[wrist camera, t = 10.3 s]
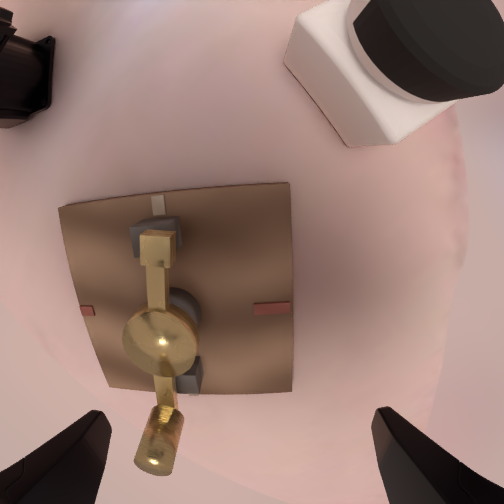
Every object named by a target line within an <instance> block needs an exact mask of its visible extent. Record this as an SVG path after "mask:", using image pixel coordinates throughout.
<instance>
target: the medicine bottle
mask: <svg viewBox="0 0 504 504" xmlns="http://www.w3.org/2000/svg"><path fill="white" fill-rule="evenodd" d="M284 64H285V65H286V66H287V68H288V69H289V70H290V71H291V72H292V74H293V75H294V76H295V77H296V78H297V80H298V81H299V82H300V83H301V85H302V86H303V87H304V88H305V90H306V91H307V92H308V93H309V95H310V96H311V97H312V98H313V100H314V101H315V102H316V104H317V105H318V106H319V108H320V109H321V110H322V112H323V113H324V114H325V116H326V117H327V118H328V120H329V121H330V123H331V124H332V125H333V127H334V128H335V130H336V131H337V132H338V134H339V135H340V137H341V138H342V140H343V141H344V143H345V144H346V145H347V146H348V147H360V146H375V145H393V144H397V143H399V142H400V141H402V140H403V139H404V138H406V137H407V136H409V135H410V134H412V133H413V132H414V131H416V130H417V129H419V128H420V127H421V126H423V125H424V124H426V123H427V122H429V121H430V120H431V119H433V118H434V117H436V116H437V115H438V114H440V113H441V112H443V111H444V110H446V109H447V108H448V107H450V106H451V105H453V104H454V103H456V102H457V101H458V100H460V99H463V98H468V97H474V96H479V95H484V94H490V93H493V92H495V91H497V90H498V89H499V88H500V87H502V85H503V84H504V22H503V19H502V17H501V16H500V13H499V12H498V10H497V9H496V7H495V5H494V4H493V2H492V1H491V0H327V1H325V2H323V3H321V4H318V5H316V6H314V7H312V8H310V9H308V10H306V11H304V12H302V13H300V14H299V15H298V16H297V17H296V20H295V24H294V27H293V30H292V34H291V37H290V40H289V44H288V47H287V50H286V54H285V57H284Z"/></svg>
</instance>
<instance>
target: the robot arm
mask: <svg viewBox="0 0 504 504" xmlns="http://www.w3.org/2000/svg"><path fill="white" fill-rule="evenodd" d="M12 17H13V12H11V11H9V10H7V9H4V8H2V7H0V128H11V127H13V126H15V125H17V124H20V123H22V122H24V121H27V120H28V119H29V118H30V116H31V115H33V114H35V113H38V112H40V111H43V110H45V109H47V108H48V107H49V106H50V104H51V81H52V65H53V53H54V44H55V38H54V37H52V36H48V37H46V38H44V39H42V40H40V41H38V42H36V43H35V42H32V41H30V40H27V39H24V38H22V37H19V36H16V35H14V33H15V32H16V30H17V29H16V28H15V27H14V26H12V25H11V24H12ZM49 41H50V42H49ZM48 42H49V43H48ZM45 101H46V102H45ZM44 102H45V105H44ZM371 429H372V435H373V440H374V445H375V451H376V456H377V462H378V467H379V470H380V474H381V477H382V480H383V483H384V487H385V490H386V493H387V497H388V500H389V503H390V504H504V488H503V487H500V486H499V485H497V484H495V483H493V482H491V481H489V480H487V479H486V478H484V477H482V476H480V475H479V474H477V473H476V472H474V471H473V470H471V469H470V468H468V467H467V466H466V465H465V464H463V463H462V462H460V463H459V460H458V459H456V458H455V457H454V456H452V455H451V454H450V453H448V452H447V451H445V450H444V449H443V448H442V447H440V446H439V445H438V444H437V443H435V442H434V441H433V440H431V439H430V438H429V437H427V436H426V435H425V434H424V433H422V432H421V431H420V430H418V429H417V428H416V427H415V426H413V425H412V424H411V423H410V422H408V421H407V420H406V419H404V418H403V417H402V416H401V415H399V414H398V413H397V412H396V411H394V410H393V409H392V408H391V407H388V406H386V407H381V408H378V409H377V410H376V411H375V415H374V418H373V421H372V425H371ZM111 433H112V429H111V425H110V423H109V421H108V420H107V418H106V416H105V414H104V413H103V412H102V411H98V410H91V411H90V412H88V413H87V414H86V415H84V416H83V417H81V418H80V419H78V420H77V421H76V422H74V423H73V424H71V425H70V426H69V427H67V428H66V429H65V430H63V431H62V432H60V433H59V434H57V435H56V436H55V437H53V438H52V439H50V440H49V441H47V442H46V443H44V444H43V445H41V446H40V447H39V448H37V449H36V450H34V451H33V452H31V453H30V454H28V455H27V456H25V458H22V459H21V460H19V461H18V462H16V463H15V464H13V465H12V466H10V467H8V468H7V469H5V470H3V471H1V472H0V504H95V500H96V496H97V493H98V489H99V486H100V482H101V479H102V475H103V472H104V469H105V464H106V460H107V453H108V448H109V443H110V437H111Z"/></svg>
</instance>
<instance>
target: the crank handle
mask: <svg viewBox="0 0 504 504" xmlns="http://www.w3.org/2000/svg"><path fill="white" fill-rule="evenodd" d="M175 261H176V231H165V230H152V229H147V230H146V231H144V232H143V233H142V234H140V265H143V266H146V281H147V299H148V303H146V304H144V305H142V306H141V307H139V308H138V309H137V310H136V312H135V313H134V314H133V316H132V317H131V319H130V320H129V321H128V323H127V324H126V326H125V327H124V330H123V333H122V343H123V347H124V350H125V352H126V354H127V355H128V357H129V358H130V359H131V361H132V362H133V363H134V364H135V365H137V366H138V367H139V368H140V369H142V370H144V371H145V372H147V373H150V374H152V375H153V377H154V384H155V391H156V397H157V403H158V405H157V406H155V407H153V408H152V410H151V413H150V416H149V418H148V421H147V424H146V427H145V430H144V432H143V435H142V438H141V441H140V444H139V447H138V450H137V452H136V456H135V458H134V463H135V465H136V466H137V467H138V468H140V469H141V470H143V471H145V472H147V473H150V474H152V475H157V476H168V475H170V474H171V473H172V469H173V465H174V461H175V456H176V452H177V448H178V444H179V440H180V435H181V431H182V427H183V423H184V417H183V415H182V413H181V412H179V411H178V402H177V391H176V379H175V376H179V375H182V374H183V373H185V372H187V371H188V370H189V369H190V368H191V366H192V365H193V363H194V360H195V356H196V353H197V349H198V346H199V341H200V334H199V330H198V327H197V325H196V323H195V321H194V320H193V319H192V317H191V316H190V315H189V314H188V313H187V312H185V311H184V310H183V309H181V308H180V307H178V306H176V305H173V304H171V303H170V297H169V268H171V266H172V265H173V263H174V262H175Z"/></svg>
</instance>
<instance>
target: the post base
mask: <svg viewBox="0 0 504 504" xmlns="http://www.w3.org/2000/svg"><path fill="white" fill-rule="evenodd" d="M58 211H59V218H60V224H61V229H62V235H63V240H64V245H65V249H66V254H67V259H68V263H69V267H70V271H71V275H72V279H73V283H74V287H75V291H76V294H77V298H78V301H79V305H80V306H79V307H80V310H81V313H82V316H83V318H84V321H85V324H86V327H87V330H88V333H89V336H90V339H91V342H92V344H93V347H94V350H95V352H96V355H97V358H98V360H99V363H100V365H101V368H102V370H103V373H104V375H105V378H106V380H107V383H108V385H109V387H112V388H120V389H129V390H139V391H150V392H156V391H155V384H154V377H153V375H152V374H150V373H147V372H145V371H144V370H142V369H140V368H139V367H138V366H137V365H135V364H134V363H133V362H132V361H131V359H130V358H129V357H128V355H127V354H126V352H125V350H124V347H123V343H122V333H123V330H124V327H125V326H126V324H127V323H128V321H129V320H130V319H131V317H132V316H133V314H134V313H135V312H136V310H137V309H138V308H139V307H141V306H142V305H144V304H146V303H148V299H147V281H146V266H143V265H140V234H142V233H143V232H144V231H146V230H147V229H152V230H165V231H176V261H175V262H174V263H173V265H172V266H171V268H169V297H170V303H171V304H173V305H176V306H178V307H180V308H181V309H183V310H184V311H185V312H187V313H188V314H189V315H190V316H191V317H192V319H193V320H194V321H195V323H196V325H197V327H198V330H199V334H200V341H199V346H198V349H197V353H196V356H195V360H194V363H193V365H192V366H191V368H190V369H189V370H188V371H187V372H185V373H183V374H182V375H179V376H175V379H176V391H177V393H182V394H189V395H191V396H198V394H263V393H281V392H292V367H293V271H292V228H291V199H290V184H289V183H288V182H283V183H262V184H245V185H231V186H217V187H205V188H194V189H183V190H173V191H164V192H155V193H146V194H138V195H130V196H123V197H115V198H108V199H101V200H95V201H88V202H82V203H76V204H70V205H65V206H62V207H59V208H58Z"/></svg>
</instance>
